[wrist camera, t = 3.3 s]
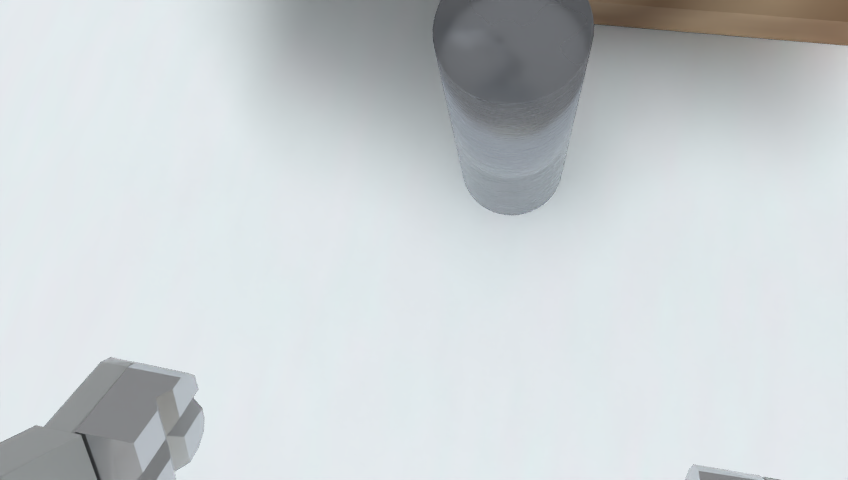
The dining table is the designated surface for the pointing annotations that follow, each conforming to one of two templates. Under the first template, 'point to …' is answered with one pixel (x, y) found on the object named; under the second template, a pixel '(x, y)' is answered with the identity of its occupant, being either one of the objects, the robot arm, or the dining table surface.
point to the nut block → (733, 17)
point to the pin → (512, 92)
